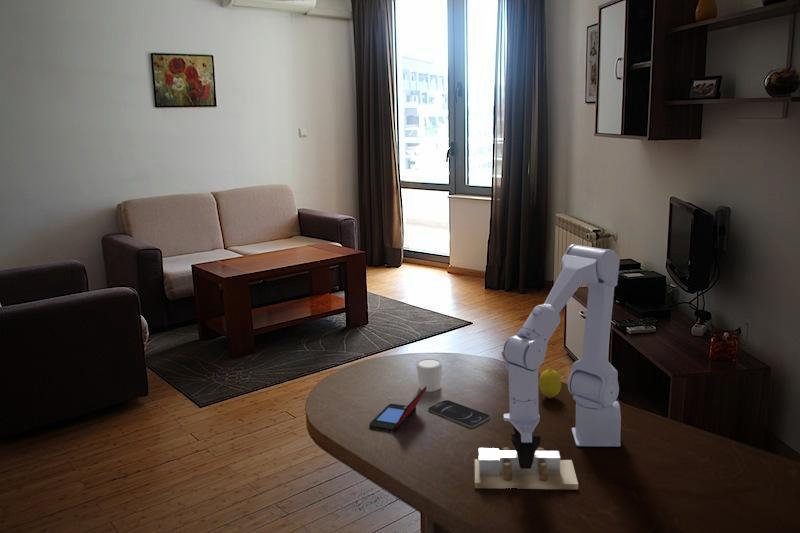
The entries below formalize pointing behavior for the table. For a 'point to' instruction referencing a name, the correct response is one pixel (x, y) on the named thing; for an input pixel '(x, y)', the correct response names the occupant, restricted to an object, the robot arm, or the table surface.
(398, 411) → the handheld game console
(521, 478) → the peg cradle
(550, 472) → the bar
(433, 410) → the smartphone
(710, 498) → the table surface
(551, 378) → the lemon
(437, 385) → the white cylinder
